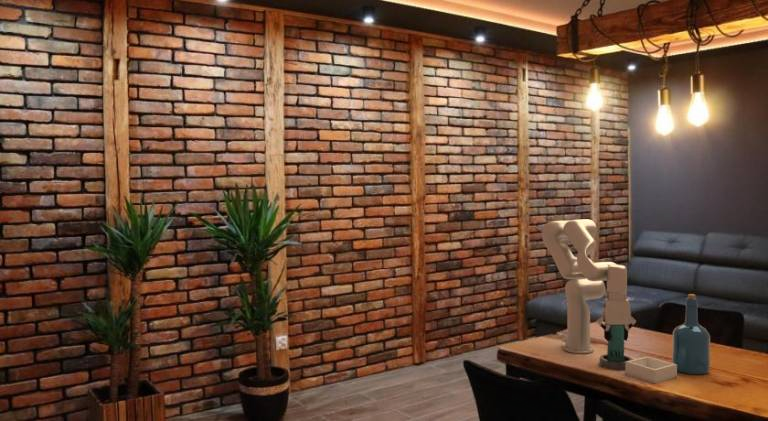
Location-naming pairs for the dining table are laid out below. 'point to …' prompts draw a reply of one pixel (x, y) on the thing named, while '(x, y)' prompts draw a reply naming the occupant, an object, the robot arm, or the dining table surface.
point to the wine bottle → (691, 342)
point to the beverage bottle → (616, 343)
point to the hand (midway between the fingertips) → (616, 339)
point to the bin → (651, 369)
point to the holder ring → (613, 363)
